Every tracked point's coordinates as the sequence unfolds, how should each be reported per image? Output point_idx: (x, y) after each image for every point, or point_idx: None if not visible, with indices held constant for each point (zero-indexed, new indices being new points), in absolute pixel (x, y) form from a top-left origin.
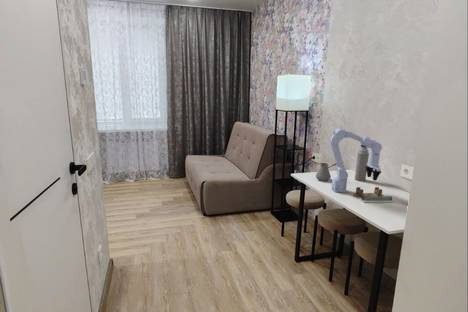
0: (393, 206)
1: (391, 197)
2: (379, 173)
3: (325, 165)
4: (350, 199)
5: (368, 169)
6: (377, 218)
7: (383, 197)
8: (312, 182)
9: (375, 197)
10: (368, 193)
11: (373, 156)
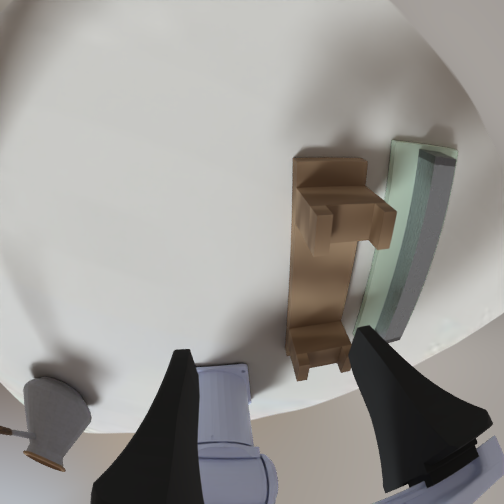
0: (482, 196)
1: (454, 165)
2: (458, 407)
3: (63, 468)
4: None
5: (197, 489)
6: (494, 306)
7: (440, 228)
8: (125, 425)
9: (423, 281)
10: (305, 274)
11: None
